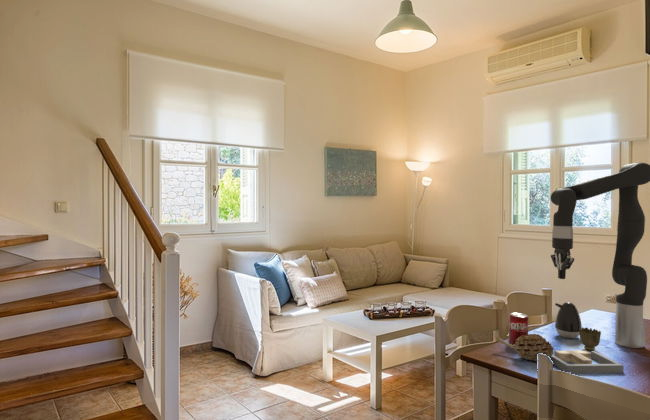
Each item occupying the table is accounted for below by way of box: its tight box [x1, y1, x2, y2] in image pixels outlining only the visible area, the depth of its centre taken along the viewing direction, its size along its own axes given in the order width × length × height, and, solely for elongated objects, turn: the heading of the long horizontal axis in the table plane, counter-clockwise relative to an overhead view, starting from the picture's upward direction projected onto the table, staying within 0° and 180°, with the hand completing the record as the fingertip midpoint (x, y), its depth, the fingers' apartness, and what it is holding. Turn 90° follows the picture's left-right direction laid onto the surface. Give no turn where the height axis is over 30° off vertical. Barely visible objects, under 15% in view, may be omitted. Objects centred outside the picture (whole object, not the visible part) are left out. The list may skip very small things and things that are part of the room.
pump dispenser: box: [554, 301, 583, 340], centre depth 187 cm, size 10×10×15 cm
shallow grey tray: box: [550, 350, 625, 374], centre depth 154 cm, size 20×14×2 cm
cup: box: [579, 326, 602, 352], centre depth 170 cm, size 8×7×8 cm
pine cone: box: [495, 333, 555, 362], centre depth 160 cm, size 22×10×10 cm, turn 45°
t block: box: [553, 350, 593, 364], centre depth 155 cm, size 12×10×3 cm
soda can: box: [508, 312, 529, 345], centre depth 177 cm, size 7×7×12 cm
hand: (561, 278), depth 178 cm, fingers closed
